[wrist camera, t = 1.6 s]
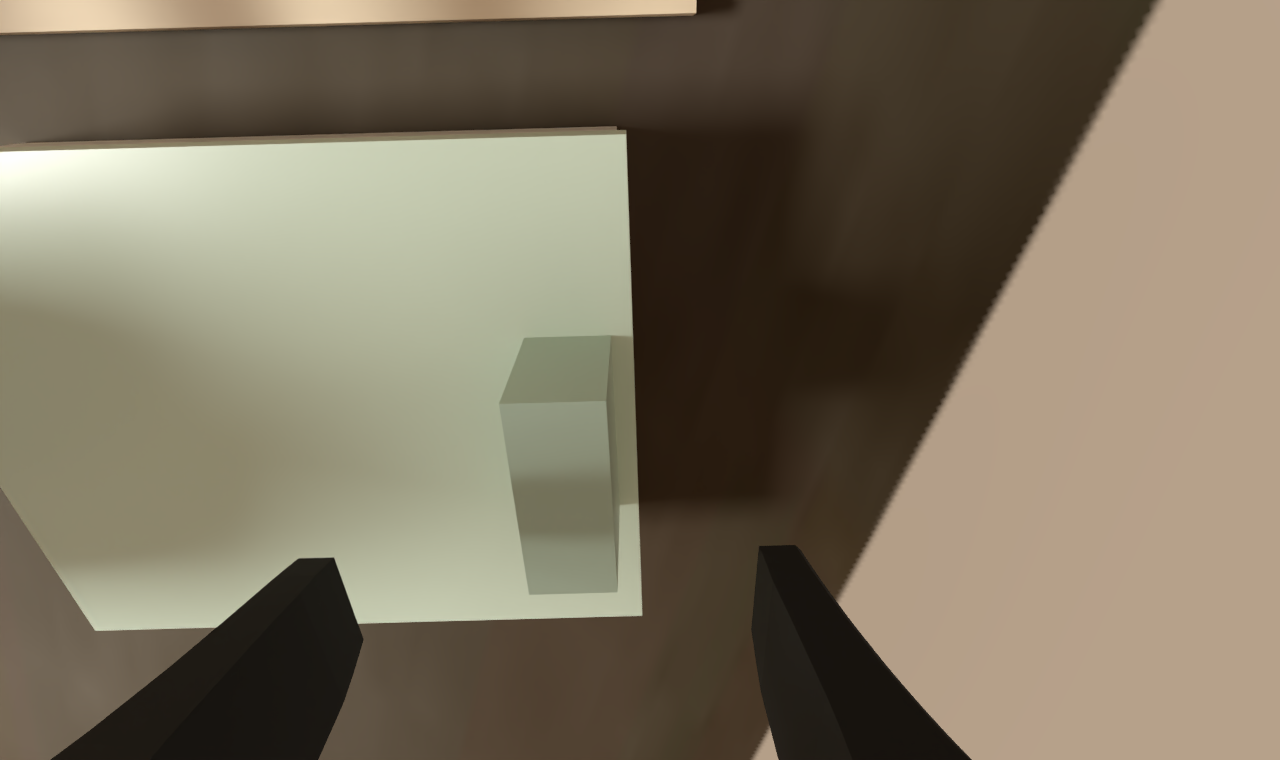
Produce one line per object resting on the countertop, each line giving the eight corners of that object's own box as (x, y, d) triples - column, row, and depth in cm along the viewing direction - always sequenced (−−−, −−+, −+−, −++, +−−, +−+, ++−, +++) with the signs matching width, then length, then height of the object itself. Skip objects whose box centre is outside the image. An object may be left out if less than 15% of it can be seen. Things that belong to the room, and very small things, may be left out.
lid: (138, 584, 20) (5, 727, 16) (-118, 145, 13) (-462, 186, 9) (641, 570, 20) (643, 710, 16) (626, 124, 13) (624, 156, 9)
